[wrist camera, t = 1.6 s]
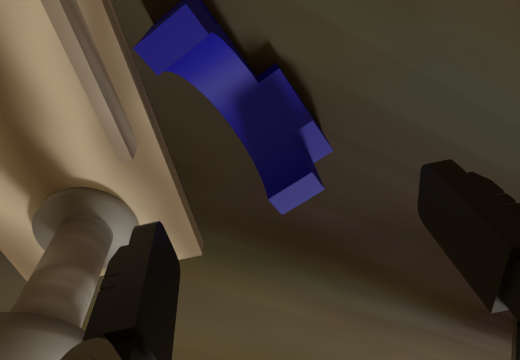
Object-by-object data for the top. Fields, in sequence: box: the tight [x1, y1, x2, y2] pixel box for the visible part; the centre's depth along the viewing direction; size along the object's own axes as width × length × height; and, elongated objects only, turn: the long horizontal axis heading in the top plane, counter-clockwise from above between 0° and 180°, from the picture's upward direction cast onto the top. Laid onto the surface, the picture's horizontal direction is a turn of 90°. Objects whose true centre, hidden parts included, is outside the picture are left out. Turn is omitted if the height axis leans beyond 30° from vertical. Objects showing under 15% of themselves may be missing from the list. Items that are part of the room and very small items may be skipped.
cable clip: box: [133, 0, 333, 215], centre depth 20 cm, size 12×4×6 cm, turn 35°
